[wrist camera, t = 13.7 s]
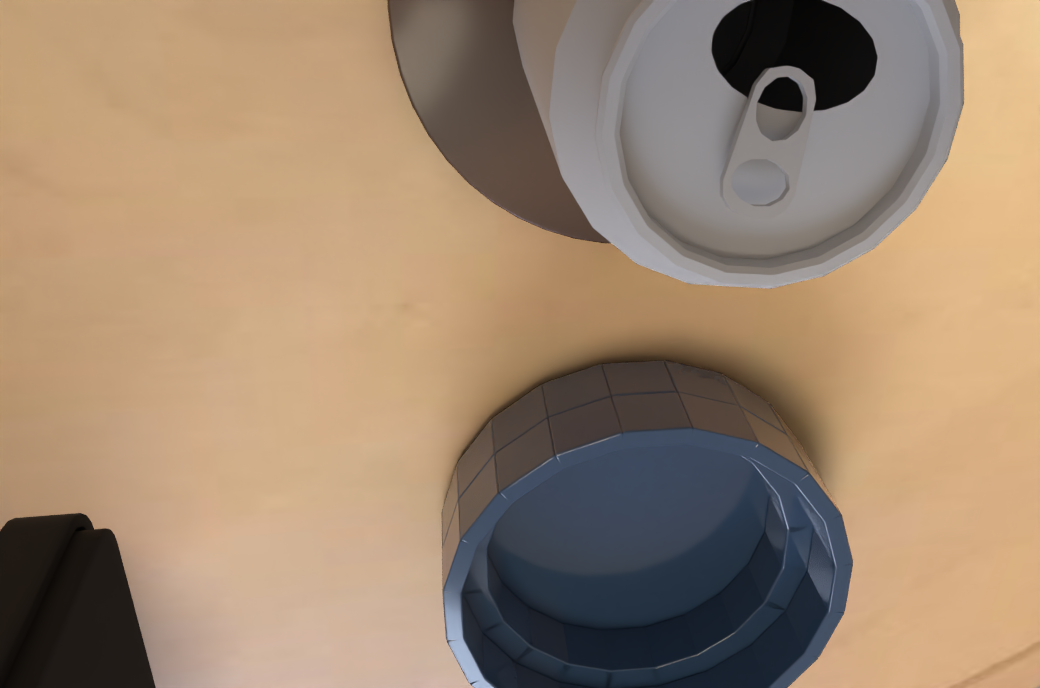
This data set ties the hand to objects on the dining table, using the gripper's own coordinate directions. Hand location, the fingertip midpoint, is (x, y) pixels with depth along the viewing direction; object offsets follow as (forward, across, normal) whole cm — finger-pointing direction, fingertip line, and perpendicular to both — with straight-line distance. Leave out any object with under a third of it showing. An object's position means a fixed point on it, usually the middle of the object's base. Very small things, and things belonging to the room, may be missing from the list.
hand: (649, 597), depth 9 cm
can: (+21, -4, -2) cm, 22 cm away
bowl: (+22, -5, +16) cm, 27 cm away
